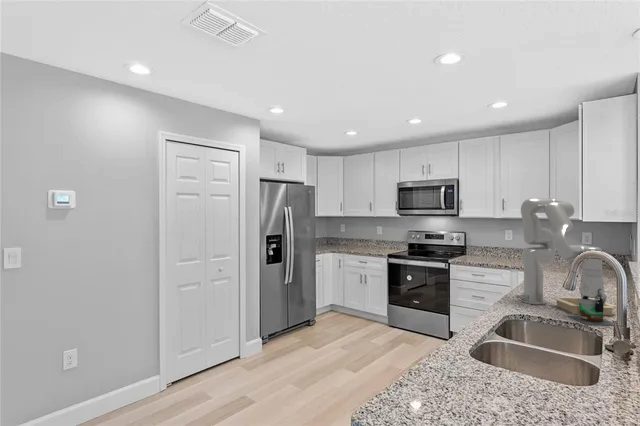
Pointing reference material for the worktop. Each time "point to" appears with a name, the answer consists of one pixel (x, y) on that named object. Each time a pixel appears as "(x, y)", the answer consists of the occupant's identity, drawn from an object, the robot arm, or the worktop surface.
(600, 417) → the worktop surface
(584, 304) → the food container
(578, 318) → the mat
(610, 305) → the tan square tray
